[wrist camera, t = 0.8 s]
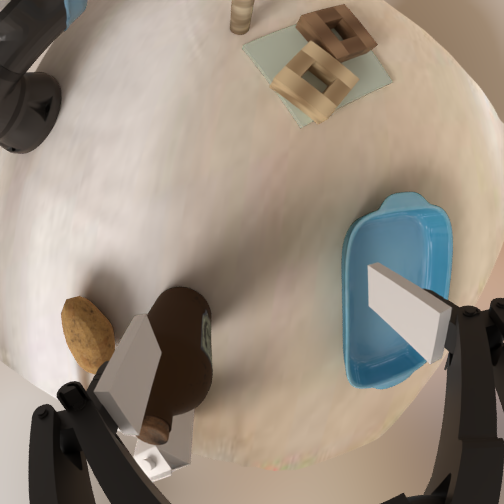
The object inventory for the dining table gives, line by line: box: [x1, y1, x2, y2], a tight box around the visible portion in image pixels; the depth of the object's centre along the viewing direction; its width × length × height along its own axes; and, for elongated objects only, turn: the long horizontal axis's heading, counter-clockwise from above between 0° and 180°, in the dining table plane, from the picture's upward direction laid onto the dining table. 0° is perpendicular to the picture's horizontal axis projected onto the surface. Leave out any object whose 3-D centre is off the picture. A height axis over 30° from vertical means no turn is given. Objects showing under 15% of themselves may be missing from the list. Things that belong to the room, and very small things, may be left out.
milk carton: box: [133, 408, 195, 482], centre depth 38 cm, size 7×7×19 cm
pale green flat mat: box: [242, 24, 392, 128], centre depth 34 cm, size 16×20×1 cm
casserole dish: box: [342, 192, 453, 389], centre depth 42 cm, size 37×22×7 cm, turn 9°
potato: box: [61, 296, 115, 374], centre depth 38 cm, size 10×14×8 cm
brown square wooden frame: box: [295, 4, 377, 63], centre depth 31 cm, size 9×9×4 cm
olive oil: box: [136, 287, 213, 445], centre depth 30 cm, size 11×11×25 cm
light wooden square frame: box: [270, 41, 360, 124], centre depth 33 cm, size 9×9×4 cm
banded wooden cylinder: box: [230, 0, 255, 35], centre depth 24 cm, size 3×3×16 cm
